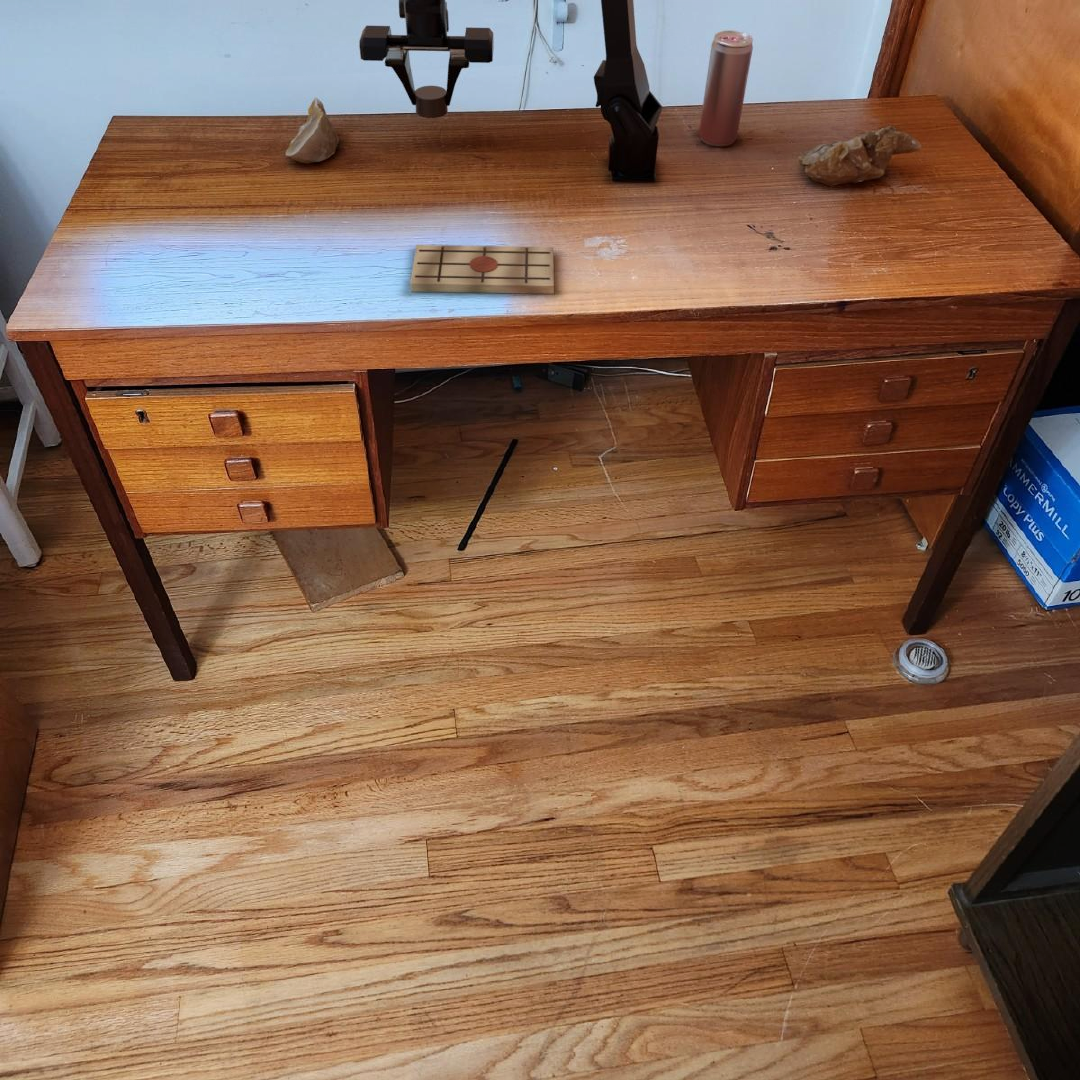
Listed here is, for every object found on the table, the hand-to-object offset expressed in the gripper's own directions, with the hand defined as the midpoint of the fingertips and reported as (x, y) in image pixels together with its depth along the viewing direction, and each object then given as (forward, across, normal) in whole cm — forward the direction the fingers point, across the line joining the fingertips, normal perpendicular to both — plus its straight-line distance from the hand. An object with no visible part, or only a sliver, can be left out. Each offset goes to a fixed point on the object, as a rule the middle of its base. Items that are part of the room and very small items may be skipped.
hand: (431, 104), depth 143 cm
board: (+6, -9, +36) cm, 37 cm away
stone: (+6, +18, +2) cm, 19 cm away
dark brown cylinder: (+1, 0, 0) cm, 1 cm away
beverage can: (+6, -44, -3) cm, 45 cm away
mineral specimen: (+6, -63, +8) cm, 64 cm away
